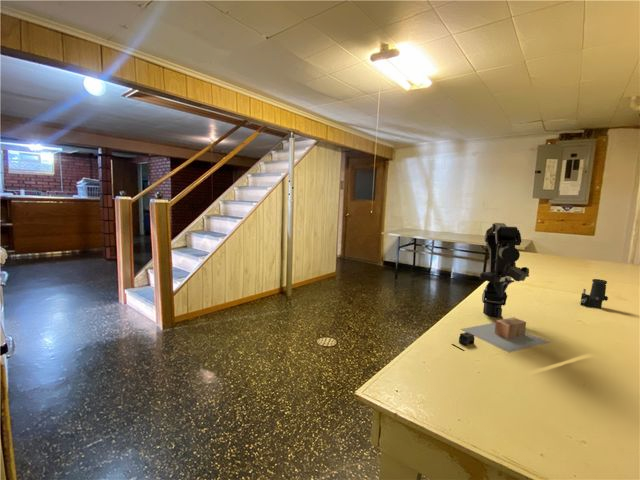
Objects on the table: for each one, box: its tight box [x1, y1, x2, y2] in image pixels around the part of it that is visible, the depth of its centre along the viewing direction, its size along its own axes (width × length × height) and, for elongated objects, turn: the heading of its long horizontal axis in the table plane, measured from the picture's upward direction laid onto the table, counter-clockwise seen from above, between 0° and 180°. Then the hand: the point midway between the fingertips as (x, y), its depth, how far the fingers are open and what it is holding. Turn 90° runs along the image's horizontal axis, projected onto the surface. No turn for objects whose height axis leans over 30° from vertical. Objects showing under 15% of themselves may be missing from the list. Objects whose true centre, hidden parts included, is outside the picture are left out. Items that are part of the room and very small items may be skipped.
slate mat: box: [460, 321, 550, 353], centre depth 117 cm, size 20×22×1 cm
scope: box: [580, 278, 609, 310], centre depth 156 cm, size 8×14×10 cm
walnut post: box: [495, 317, 527, 339], centre depth 118 cm, size 5×5×10 cm
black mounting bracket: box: [450, 332, 475, 352], centre depth 109 cm, size 12×7×5 cm, turn 116°
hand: (500, 296), depth 124 cm, fingers closed
